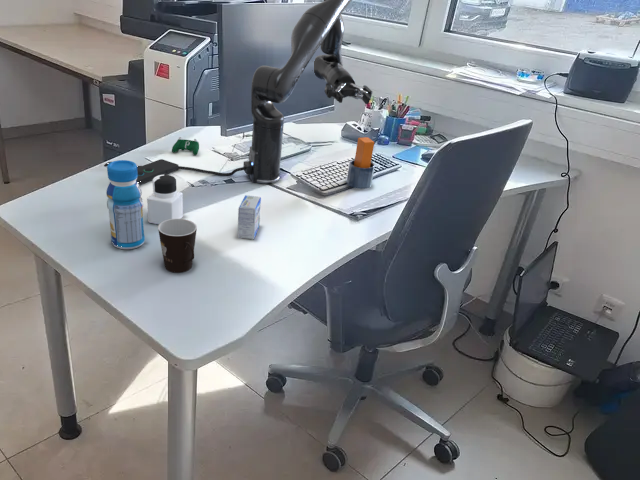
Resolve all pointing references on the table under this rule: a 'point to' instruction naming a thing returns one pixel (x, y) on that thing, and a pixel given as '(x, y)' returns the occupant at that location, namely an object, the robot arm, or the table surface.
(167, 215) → the medicine bottle
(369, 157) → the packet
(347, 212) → the table surface
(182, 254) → the coffee mug
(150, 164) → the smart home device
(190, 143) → the gaming controller
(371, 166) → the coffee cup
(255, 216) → the medicine box
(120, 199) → the beverage bottle
